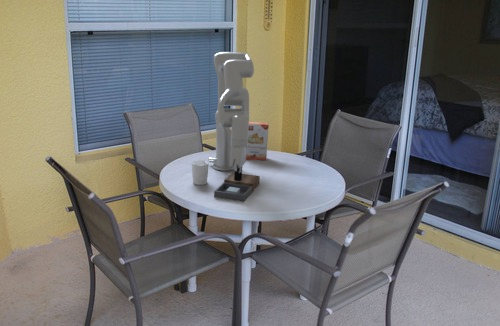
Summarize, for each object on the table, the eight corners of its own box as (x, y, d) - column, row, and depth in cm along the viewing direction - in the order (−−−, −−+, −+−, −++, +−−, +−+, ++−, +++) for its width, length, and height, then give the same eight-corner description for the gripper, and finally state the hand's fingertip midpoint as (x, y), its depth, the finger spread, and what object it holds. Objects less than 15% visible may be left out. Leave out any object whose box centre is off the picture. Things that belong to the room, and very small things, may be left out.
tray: (214, 197, 220) (214, 190, 219) (223, 188, 231) (223, 182, 231) (244, 201, 216) (244, 195, 215) (252, 192, 228) (252, 186, 227)
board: (224, 187, 232) (224, 179, 231) (232, 179, 243) (232, 172, 242) (252, 191, 228) (252, 183, 227) (259, 183, 240) (259, 176, 238)
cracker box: (241, 159, 276) (243, 123, 270) (241, 156, 282) (243, 121, 275) (266, 160, 276) (268, 124, 270) (266, 157, 282) (268, 122, 276)
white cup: (195, 186, 232) (195, 166, 229) (189, 181, 239) (189, 161, 236) (210, 184, 236) (211, 164, 233) (204, 179, 242) (204, 159, 239)
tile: (229, 186, 225) (229, 191, 226) (226, 190, 221) (226, 195, 222) (240, 188, 224) (240, 193, 225) (236, 191, 220) (236, 196, 220)
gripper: (236, 137, 230) (235, 174, 236) (226, 145, 216) (224, 184, 222) (252, 139, 228) (250, 176, 234) (242, 147, 214) (240, 186, 220)
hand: (237, 180), depth 228 cm, fingers closed
